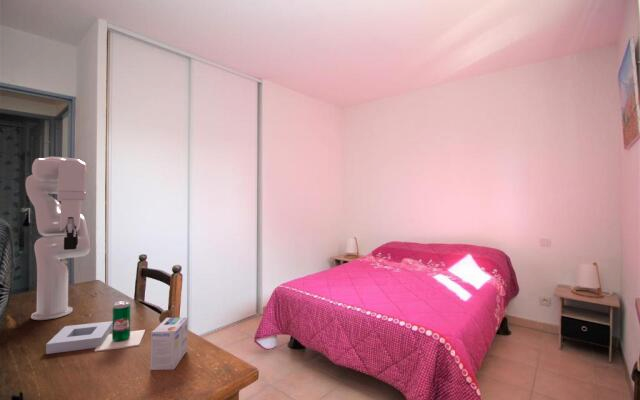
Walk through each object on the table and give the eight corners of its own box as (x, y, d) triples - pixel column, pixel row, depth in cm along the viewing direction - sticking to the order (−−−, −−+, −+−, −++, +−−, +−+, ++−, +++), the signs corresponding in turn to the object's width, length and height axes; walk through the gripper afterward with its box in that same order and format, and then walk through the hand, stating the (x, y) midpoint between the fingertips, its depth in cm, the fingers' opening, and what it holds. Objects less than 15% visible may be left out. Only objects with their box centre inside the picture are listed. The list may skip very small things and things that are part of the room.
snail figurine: (180, 338, 106) (181, 302, 106) (165, 346, 100) (166, 308, 100) (168, 335, 108) (168, 300, 108) (152, 343, 102) (153, 306, 102)
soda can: (111, 343, 100) (112, 306, 100) (112, 337, 104) (112, 302, 104) (130, 340, 103) (131, 303, 103) (130, 334, 107) (130, 299, 107)
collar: (64, 334, 107) (65, 326, 107) (112, 329, 112) (112, 321, 112) (46, 354, 94) (46, 344, 94) (101, 346, 99) (101, 337, 99)
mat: (105, 335, 107) (105, 334, 107) (145, 330, 111) (145, 329, 111) (94, 351, 96) (94, 350, 96) (139, 345, 100) (139, 344, 100)
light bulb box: (165, 351, 96) (166, 316, 96) (187, 351, 97) (188, 316, 97) (149, 370, 86) (150, 331, 86) (174, 370, 86) (175, 331, 86)
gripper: (59, 196, 110) (58, 244, 110) (54, 196, 96) (53, 252, 96) (86, 197, 115) (85, 243, 115) (85, 197, 101) (84, 250, 101)
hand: (71, 247), depth 106 cm, fingers open, 9 cm apart
